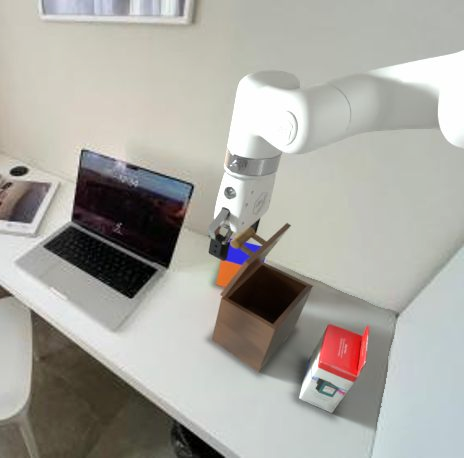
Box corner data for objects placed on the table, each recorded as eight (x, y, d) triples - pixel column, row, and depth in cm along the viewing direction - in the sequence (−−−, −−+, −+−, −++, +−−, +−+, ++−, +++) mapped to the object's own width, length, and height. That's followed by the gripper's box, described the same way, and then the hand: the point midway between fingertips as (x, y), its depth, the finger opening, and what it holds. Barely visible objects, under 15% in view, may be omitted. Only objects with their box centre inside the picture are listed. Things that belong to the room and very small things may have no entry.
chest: (293, 329, 72) (313, 285, 64) (258, 372, 66) (275, 329, 58) (247, 303, 78) (260, 260, 70) (211, 340, 72) (221, 297, 64)
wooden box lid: (291, 225, 62) (264, 208, 64) (249, 264, 56) (221, 244, 58) (262, 260, 70) (240, 243, 72) (223, 297, 64) (200, 278, 66)
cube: (260, 273, 84) (268, 247, 80) (253, 296, 79) (261, 270, 75) (224, 263, 88) (230, 238, 83) (216, 284, 83) (221, 259, 78)
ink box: (306, 361, 66) (333, 310, 57) (338, 374, 64) (372, 323, 55) (298, 399, 61) (326, 350, 52) (332, 415, 59) (368, 366, 50)
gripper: (244, 190, 49) (224, 278, 59) (304, 145, 56) (277, 230, 67) (196, 173, 53) (186, 257, 64) (257, 134, 61) (239, 214, 72)
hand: (232, 243), depth 65 cm, fingers open, 9 cm apart
